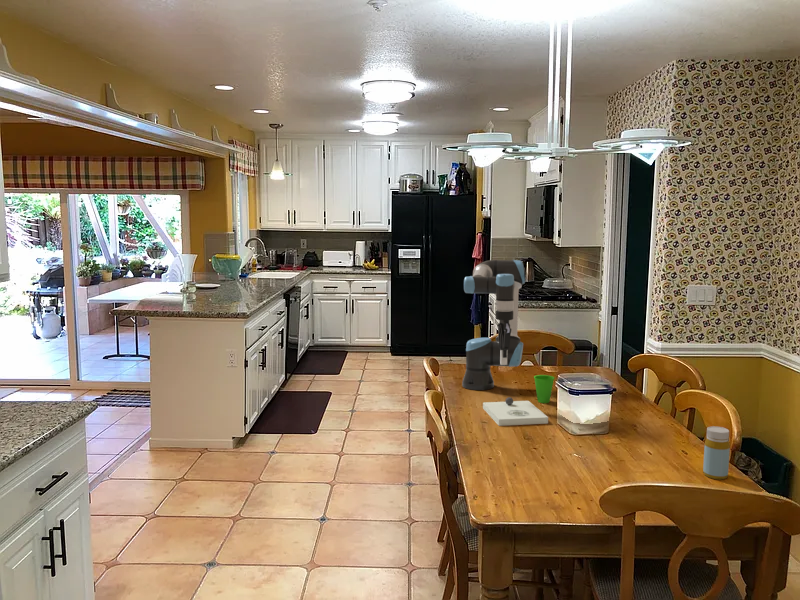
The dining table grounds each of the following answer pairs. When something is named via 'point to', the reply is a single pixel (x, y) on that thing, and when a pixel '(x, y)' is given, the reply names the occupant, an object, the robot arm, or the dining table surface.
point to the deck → (515, 413)
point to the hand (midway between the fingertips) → (503, 364)
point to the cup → (543, 387)
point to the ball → (509, 400)
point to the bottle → (716, 453)
